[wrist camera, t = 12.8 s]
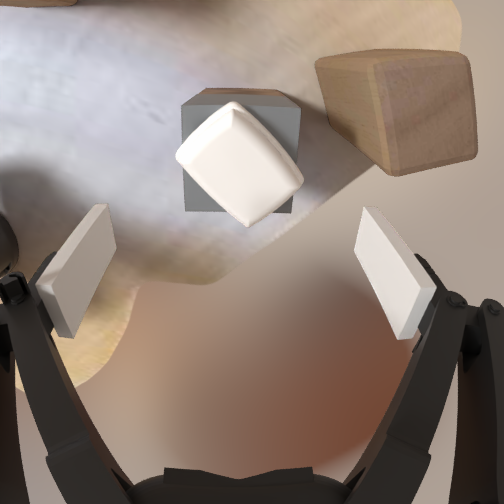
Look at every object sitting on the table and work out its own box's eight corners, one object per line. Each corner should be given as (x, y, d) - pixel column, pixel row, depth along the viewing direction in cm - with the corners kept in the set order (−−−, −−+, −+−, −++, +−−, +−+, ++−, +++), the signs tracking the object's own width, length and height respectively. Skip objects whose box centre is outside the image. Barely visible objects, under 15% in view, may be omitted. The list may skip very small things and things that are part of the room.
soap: (308, 177, 26) (316, 191, 23) (246, 226, 28) (247, 243, 26) (234, 94, 22) (233, 98, 19) (170, 153, 24) (162, 164, 22)
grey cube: (197, 175, 34) (185, 211, 27) (196, 94, 30) (181, 105, 22) (279, 176, 35) (291, 213, 27) (285, 96, 30) (301, 108, 22)
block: (394, 115, 39) (482, 161, 22) (329, 129, 41) (390, 183, 24) (380, 48, 34) (472, 52, 17) (311, 59, 35) (368, 60, 18)
